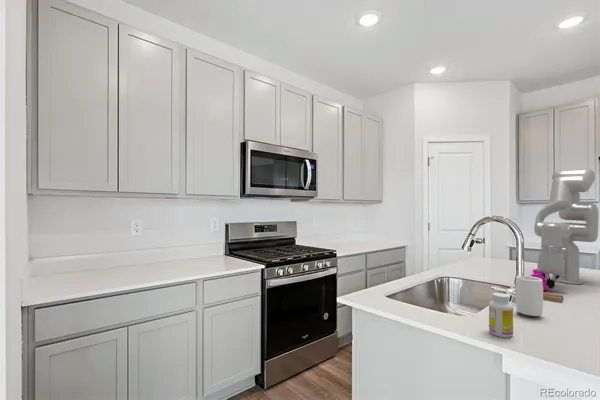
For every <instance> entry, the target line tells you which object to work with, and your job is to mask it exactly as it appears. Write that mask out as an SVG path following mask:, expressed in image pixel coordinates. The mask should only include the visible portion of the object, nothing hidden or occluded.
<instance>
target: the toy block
mask: <svg viewBox="0 0 600 400" xmlns="http://www.w3.org/2000/svg"><path fill="white" fill-rule="evenodd" d="M537 270H538V269H537V268H536V269H532V273H533V274H532V273H531V275H530V276H532V277H537V278H540V279H542V283H543V291H547V290H548V286H547V279H546V278H545V277H544V276H543V275H541V273H537Z"/></svg>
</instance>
